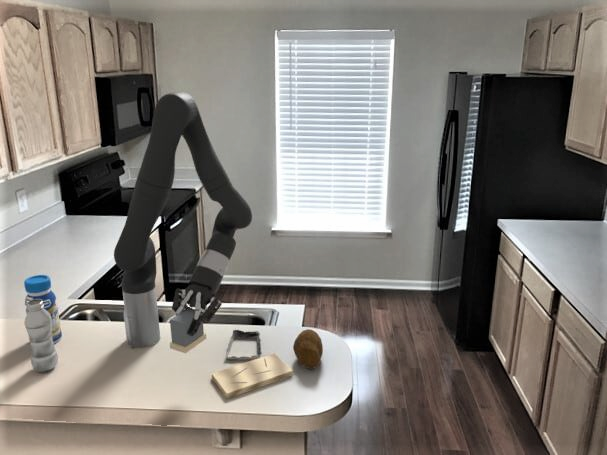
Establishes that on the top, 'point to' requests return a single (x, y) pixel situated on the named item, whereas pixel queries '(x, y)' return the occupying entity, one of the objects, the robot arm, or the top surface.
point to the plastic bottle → (40, 336)
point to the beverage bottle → (44, 300)
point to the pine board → (251, 375)
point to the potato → (308, 348)
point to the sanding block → (185, 332)
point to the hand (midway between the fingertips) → (182, 332)
